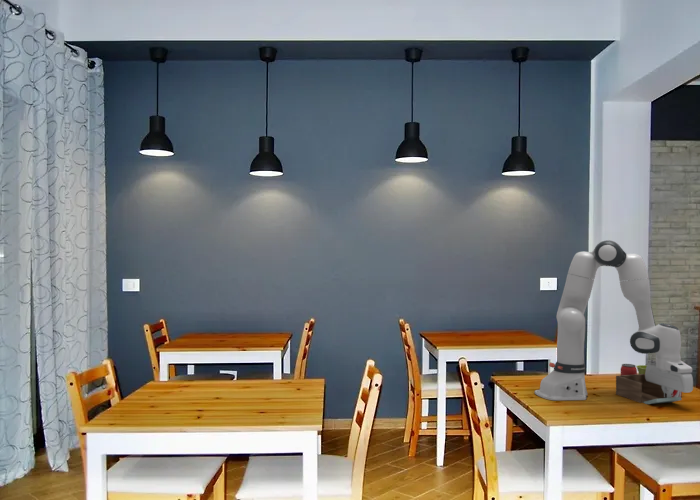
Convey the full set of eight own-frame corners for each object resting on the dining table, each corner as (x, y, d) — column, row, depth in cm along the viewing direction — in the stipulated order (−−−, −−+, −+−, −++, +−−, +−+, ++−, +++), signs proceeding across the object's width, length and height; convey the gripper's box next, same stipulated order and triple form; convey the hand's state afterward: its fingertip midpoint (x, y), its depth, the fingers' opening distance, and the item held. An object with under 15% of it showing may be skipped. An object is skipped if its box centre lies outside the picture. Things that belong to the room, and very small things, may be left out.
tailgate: (643, 405, 220) (657, 401, 213) (642, 402, 220) (656, 398, 213) (666, 403, 223) (681, 399, 216) (665, 400, 223) (680, 396, 216)
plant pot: (632, 382, 258) (632, 364, 258) (652, 383, 257) (652, 365, 257) (642, 387, 248) (642, 369, 248) (663, 388, 248) (663, 369, 248)
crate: (640, 405, 220) (640, 383, 220) (616, 396, 233) (616, 375, 233) (668, 403, 223) (668, 381, 223) (643, 394, 236) (643, 373, 236)
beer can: (622, 392, 239) (622, 366, 239) (618, 389, 246) (618, 363, 246) (638, 393, 238) (638, 366, 238) (634, 390, 244) (634, 363, 244)
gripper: (641, 359, 227) (640, 391, 227) (683, 370, 207) (683, 405, 207) (653, 358, 229) (652, 390, 229) (696, 369, 209) (695, 404, 209)
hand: (667, 397), depth 218 cm, fingers closed
